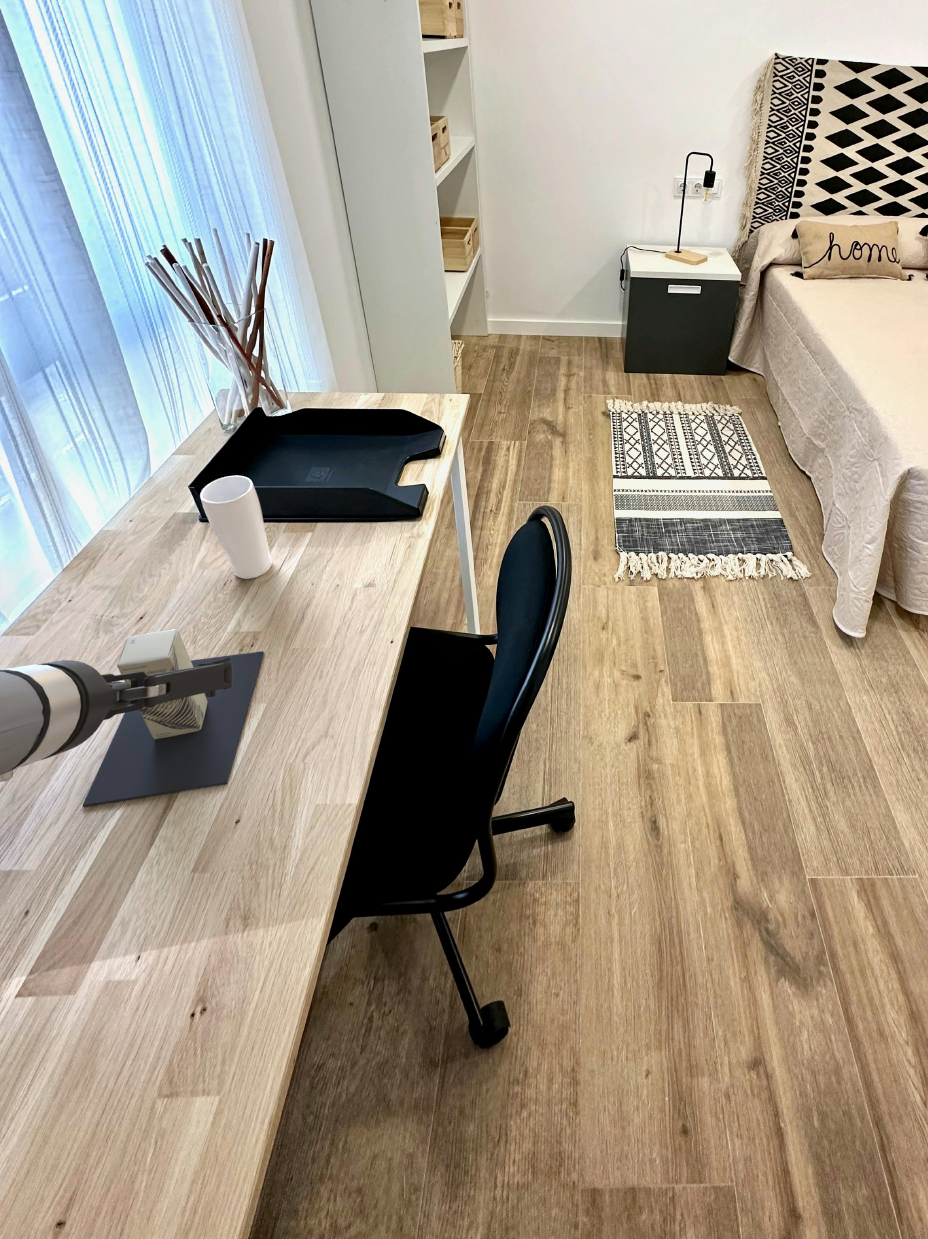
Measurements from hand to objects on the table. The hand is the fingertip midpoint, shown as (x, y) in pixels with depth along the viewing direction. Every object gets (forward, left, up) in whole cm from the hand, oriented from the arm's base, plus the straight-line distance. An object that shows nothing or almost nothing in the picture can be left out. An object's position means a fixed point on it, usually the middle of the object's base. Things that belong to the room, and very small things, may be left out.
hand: (160, 679), depth 73 cm
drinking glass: (+2, +26, -8) cm, 28 cm away
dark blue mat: (0, 0, -8) cm, 8 cm away
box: (0, 0, -8) cm, 8 cm away
